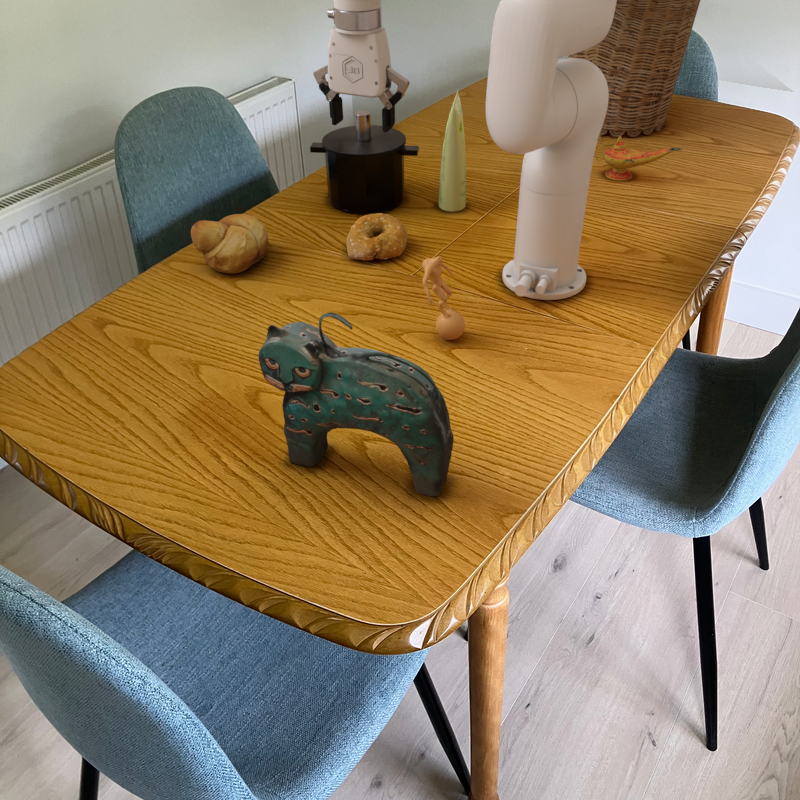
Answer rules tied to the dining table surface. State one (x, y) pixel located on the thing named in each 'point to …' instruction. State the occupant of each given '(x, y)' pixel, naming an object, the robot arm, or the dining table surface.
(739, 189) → the dining table surface
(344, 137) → the pot lid
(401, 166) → the pot
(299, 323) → the ceramic cat
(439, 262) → the figurine
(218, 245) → the bread roll
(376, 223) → the bagel
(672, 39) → the wicker basket
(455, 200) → the tube
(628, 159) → the magic lamp
